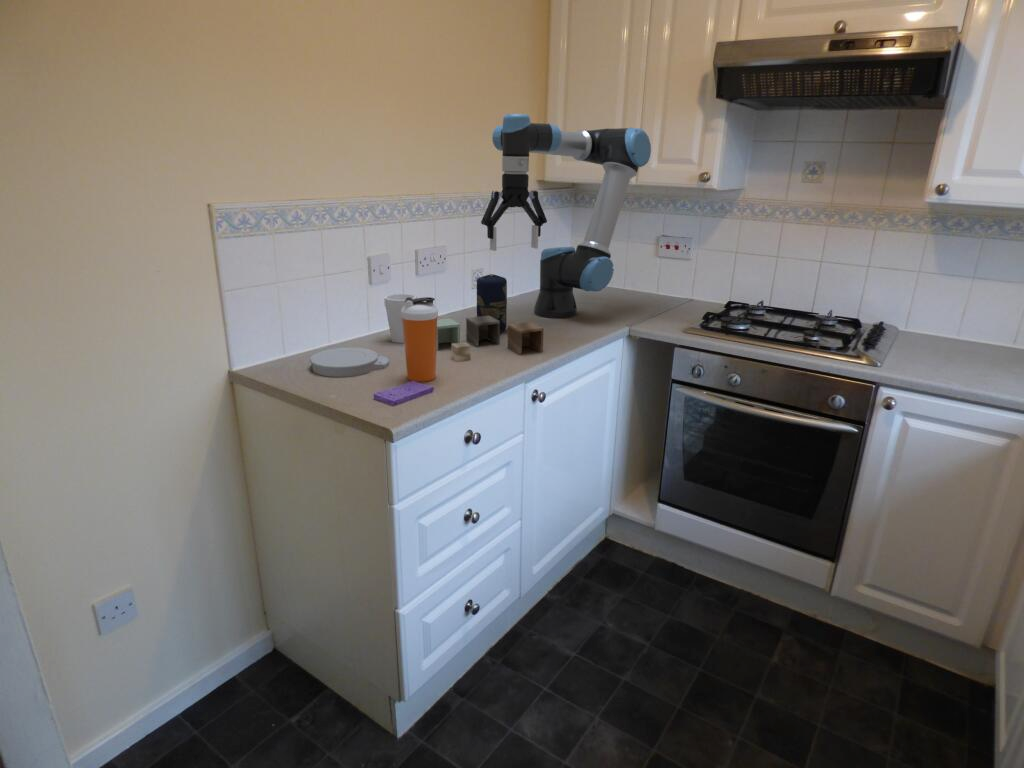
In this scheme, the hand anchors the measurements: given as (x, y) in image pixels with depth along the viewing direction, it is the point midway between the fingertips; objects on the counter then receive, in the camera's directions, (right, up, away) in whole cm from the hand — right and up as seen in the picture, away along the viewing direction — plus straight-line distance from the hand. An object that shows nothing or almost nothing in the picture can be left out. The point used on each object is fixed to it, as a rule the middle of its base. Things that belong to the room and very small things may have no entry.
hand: (514, 249), depth 190 cm
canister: (-7, -23, +15) cm, 29 cm away
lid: (-43, -35, -21) cm, 59 cm away
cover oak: (-9, -27, +3) cm, 29 cm away
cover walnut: (+3, -30, -4) cm, 30 cm away
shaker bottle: (-23, -38, -28) cm, 53 cm away
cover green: (-21, -29, -2) cm, 35 cm away
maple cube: (-15, -33, -13) cm, 38 cm away
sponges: (-26, -43, -40) cm, 64 cm away
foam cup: (-34, -27, +4) cm, 43 cm away
